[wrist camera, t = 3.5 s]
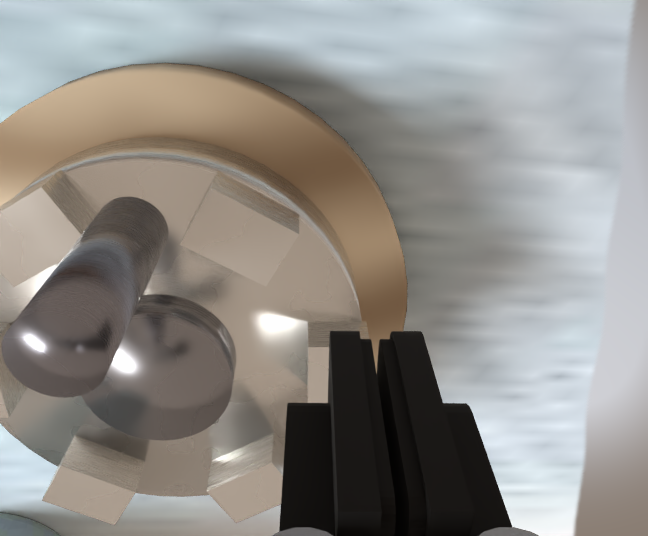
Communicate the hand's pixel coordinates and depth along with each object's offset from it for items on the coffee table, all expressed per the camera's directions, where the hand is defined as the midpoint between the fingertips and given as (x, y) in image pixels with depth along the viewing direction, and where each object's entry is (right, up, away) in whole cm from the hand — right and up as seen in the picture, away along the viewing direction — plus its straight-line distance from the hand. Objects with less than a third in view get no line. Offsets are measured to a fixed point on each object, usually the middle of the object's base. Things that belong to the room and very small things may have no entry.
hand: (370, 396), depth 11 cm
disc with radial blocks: (-6, +1, +12) cm, 14 cm away
